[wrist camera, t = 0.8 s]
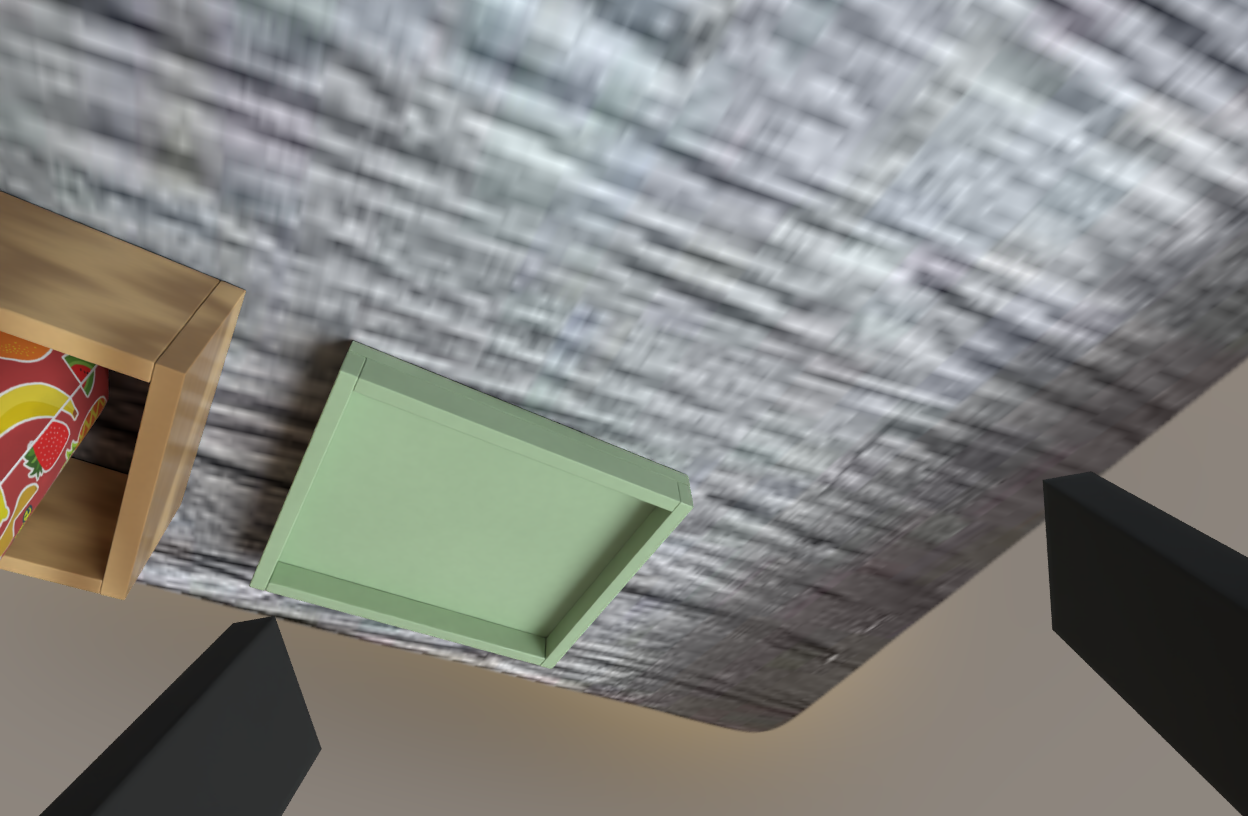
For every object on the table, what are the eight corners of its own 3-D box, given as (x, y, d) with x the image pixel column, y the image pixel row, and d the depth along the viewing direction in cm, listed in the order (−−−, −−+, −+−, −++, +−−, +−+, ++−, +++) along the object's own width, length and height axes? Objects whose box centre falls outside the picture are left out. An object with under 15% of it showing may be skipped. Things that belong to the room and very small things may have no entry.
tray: (263, 553, 40) (248, 587, 38) (352, 339, 32) (339, 370, 30) (552, 636, 46) (551, 669, 44) (688, 475, 38) (694, 507, 36)
